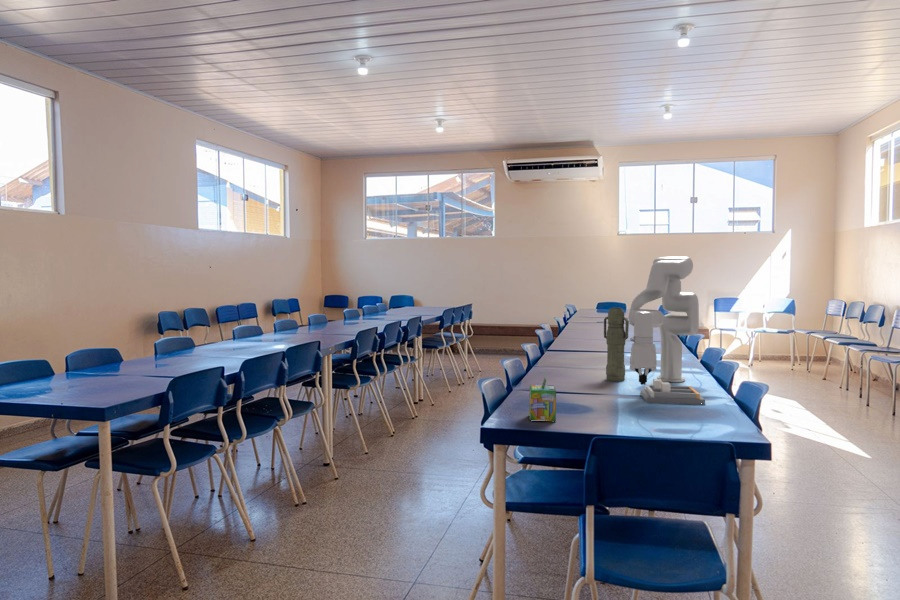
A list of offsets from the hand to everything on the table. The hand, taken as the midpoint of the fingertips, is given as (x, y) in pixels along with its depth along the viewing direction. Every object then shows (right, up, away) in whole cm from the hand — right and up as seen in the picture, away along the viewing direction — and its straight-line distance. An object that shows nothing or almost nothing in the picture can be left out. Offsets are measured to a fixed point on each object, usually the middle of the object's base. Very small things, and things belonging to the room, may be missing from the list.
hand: (642, 384), depth 235 cm
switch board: (+10, -6, -5) cm, 12 cm away
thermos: (-1, -4, +36) cm, 36 cm away
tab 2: (+7, -3, -7) cm, 10 cm away
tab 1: (+6, -3, -1) cm, 7 cm away
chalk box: (-48, -8, -34) cm, 59 cm away
